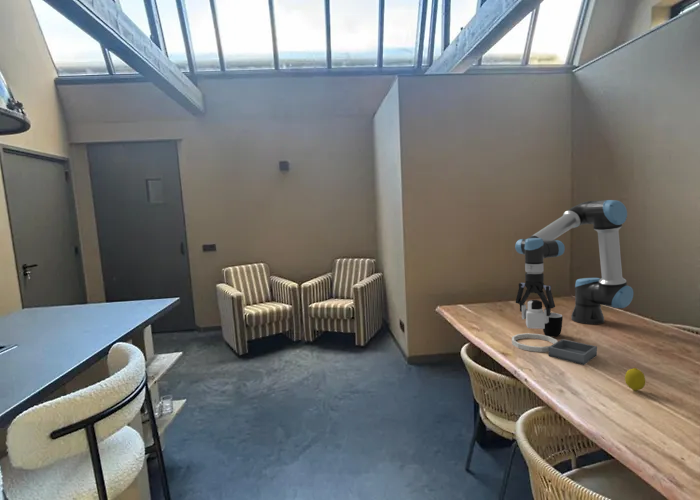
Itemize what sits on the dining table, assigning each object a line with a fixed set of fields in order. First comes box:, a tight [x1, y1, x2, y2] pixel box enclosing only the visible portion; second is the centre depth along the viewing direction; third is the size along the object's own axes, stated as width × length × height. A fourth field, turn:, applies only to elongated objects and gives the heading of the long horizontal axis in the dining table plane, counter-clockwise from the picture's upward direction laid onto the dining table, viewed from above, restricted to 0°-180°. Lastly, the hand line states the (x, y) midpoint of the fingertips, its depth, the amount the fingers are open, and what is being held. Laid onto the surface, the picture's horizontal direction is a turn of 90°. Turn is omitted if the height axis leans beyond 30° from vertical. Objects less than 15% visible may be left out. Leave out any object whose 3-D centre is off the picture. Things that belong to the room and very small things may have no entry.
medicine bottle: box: [525, 299, 545, 330], centre depth 176 cm, size 7×7×12 cm
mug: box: [542, 312, 563, 338], centre depth 190 cm, size 12×9×10 cm
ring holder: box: [511, 332, 558, 353], centre depth 178 cm, size 19×19×2 cm
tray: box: [548, 338, 598, 366], centre depth 162 cm, size 14×14×4 cm
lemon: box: [624, 367, 646, 392], centre depth 130 cm, size 6×6×8 cm
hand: (534, 320), depth 177 cm, fingers closed on medicine bottle, 9 cm apart
